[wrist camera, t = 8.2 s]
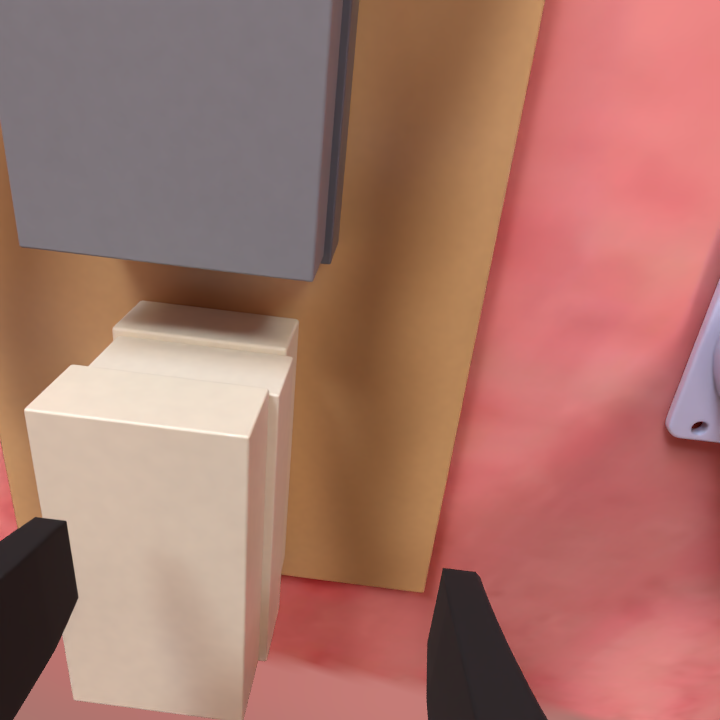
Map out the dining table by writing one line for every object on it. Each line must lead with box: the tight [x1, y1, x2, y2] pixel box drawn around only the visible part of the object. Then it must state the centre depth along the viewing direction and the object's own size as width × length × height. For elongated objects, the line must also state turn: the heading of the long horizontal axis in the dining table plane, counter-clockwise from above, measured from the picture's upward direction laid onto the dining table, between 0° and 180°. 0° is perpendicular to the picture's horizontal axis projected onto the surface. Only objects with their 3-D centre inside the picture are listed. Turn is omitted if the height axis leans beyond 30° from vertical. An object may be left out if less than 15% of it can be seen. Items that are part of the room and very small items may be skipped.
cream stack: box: [89, 300, 299, 661], centre depth 20 cm, size 5×10×4 cm, turn 175°
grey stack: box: [0, 0, 359, 282], centre depth 14 cm, size 7×11×4 cm, turn 175°
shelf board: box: [0, 0, 545, 593], centre depth 19 cm, size 16×25×1 cm, turn 175°
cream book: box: [24, 365, 269, 720], centre depth 17 cm, size 5×10×2 cm, turn 175°
